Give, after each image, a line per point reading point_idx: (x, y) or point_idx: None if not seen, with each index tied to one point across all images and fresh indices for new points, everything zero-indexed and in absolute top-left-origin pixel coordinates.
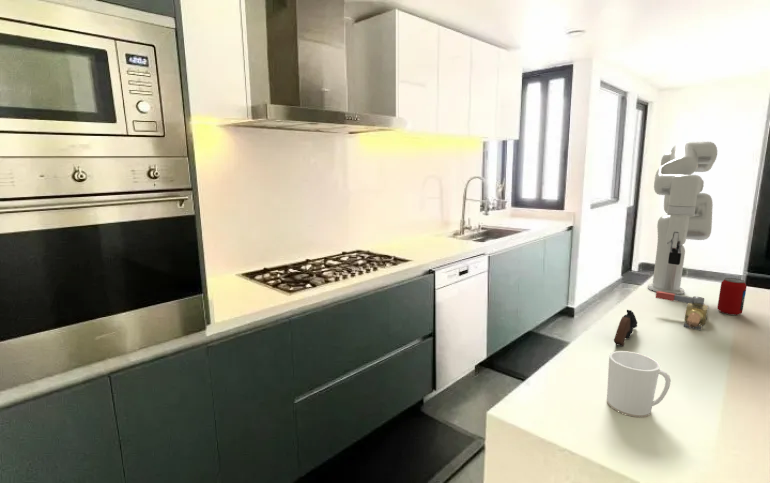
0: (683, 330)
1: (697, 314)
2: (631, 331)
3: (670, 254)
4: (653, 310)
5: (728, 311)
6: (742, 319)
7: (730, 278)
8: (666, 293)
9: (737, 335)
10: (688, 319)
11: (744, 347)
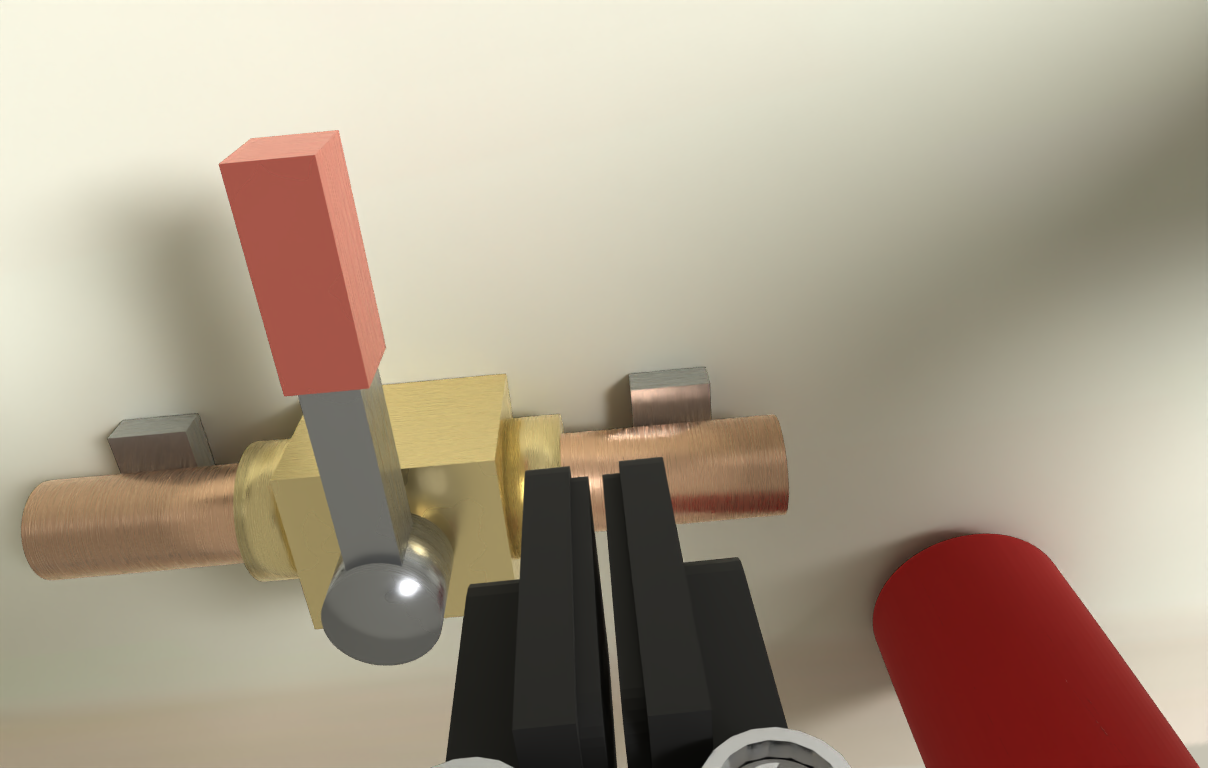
0: (10, 441)
1: (218, 558)
2: None
3: (522, 693)
4: (432, 56)
5: (875, 623)
6: (809, 680)
7: None
8: (274, 298)
9: (308, 708)
10: (25, 514)
11: (67, 762)
